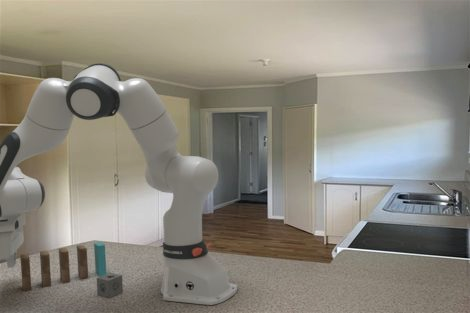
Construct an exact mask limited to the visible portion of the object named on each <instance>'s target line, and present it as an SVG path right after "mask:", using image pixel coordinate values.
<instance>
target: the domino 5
mask: <svg viewBox="0 0 470 313" xmlns="http://www.w3.org/2000/svg"><path fill="white" fill-rule="evenodd" d="M93 247H94V248H93V250H94V251H93V252H94V265H95V266H94V267H95V268H94V269H95V274H97V276H98V277H100V276H103V275H106V274H107V260H106V257H107V256H106V245H105V244H104V243H103V242H101V241H99V242H94V243H93Z"/></svg>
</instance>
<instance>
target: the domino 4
mask: <svg viewBox="0 0 470 313" xmlns="http://www.w3.org/2000/svg"><path fill="white" fill-rule="evenodd" d="M87 249H88V247H87V246H86V245H85V244H79V245H76V255H77V256H76V257H77V273H78V277H79V279H80V280H81V281H83V280H88V279H89V268H88V264H89V263H88V250H87Z"/></svg>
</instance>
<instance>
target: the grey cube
mask: <svg viewBox="0 0 470 313" xmlns="http://www.w3.org/2000/svg"><path fill="white" fill-rule="evenodd" d="M96 292H97V295H98V296H100V297H104V298H109V299H110V298H112V297H115V296H117V295H120V294H121V293H123V292H124V286H123V274H118V273H114V272H109V273H106V275H103V276H98V277H96Z"/></svg>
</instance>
